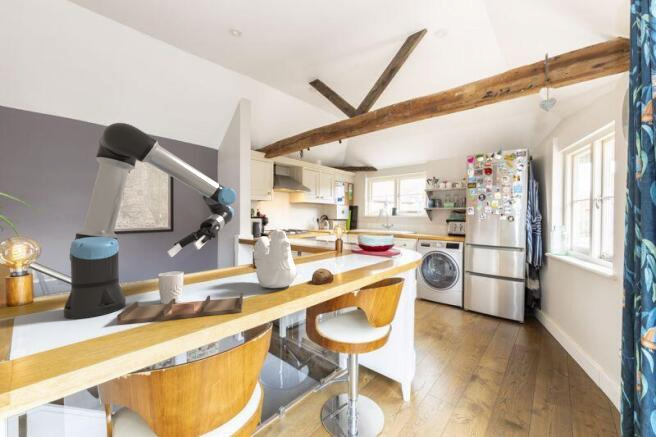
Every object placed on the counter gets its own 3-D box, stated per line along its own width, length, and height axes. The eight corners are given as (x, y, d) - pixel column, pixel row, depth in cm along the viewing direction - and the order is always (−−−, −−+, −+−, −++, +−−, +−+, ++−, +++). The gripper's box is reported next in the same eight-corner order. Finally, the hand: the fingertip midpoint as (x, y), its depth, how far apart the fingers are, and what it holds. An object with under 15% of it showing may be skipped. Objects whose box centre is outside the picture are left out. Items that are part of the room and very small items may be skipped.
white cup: (172, 305, 90) (172, 276, 90) (152, 304, 92) (152, 275, 92) (189, 298, 98) (188, 271, 98) (170, 297, 100) (170, 270, 99)
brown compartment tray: (117, 324, 74) (117, 310, 74) (135, 310, 86) (135, 297, 86) (241, 312, 83) (241, 299, 83) (242, 300, 95) (242, 289, 95)
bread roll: (312, 287, 125) (305, 273, 124) (330, 276, 129) (323, 262, 127) (319, 293, 116) (312, 277, 115) (338, 281, 120) (331, 265, 118)
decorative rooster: (303, 288, 111) (303, 229, 111) (268, 294, 102) (267, 230, 102) (278, 277, 131) (277, 227, 131) (246, 281, 122) (246, 228, 122)
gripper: (238, 225, 118) (213, 251, 99) (195, 239, 125) (163, 265, 106) (230, 210, 115) (202, 234, 96) (186, 225, 122) (152, 250, 104)
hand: (182, 250), depth 101 cm, fingers open, 13 cm apart
